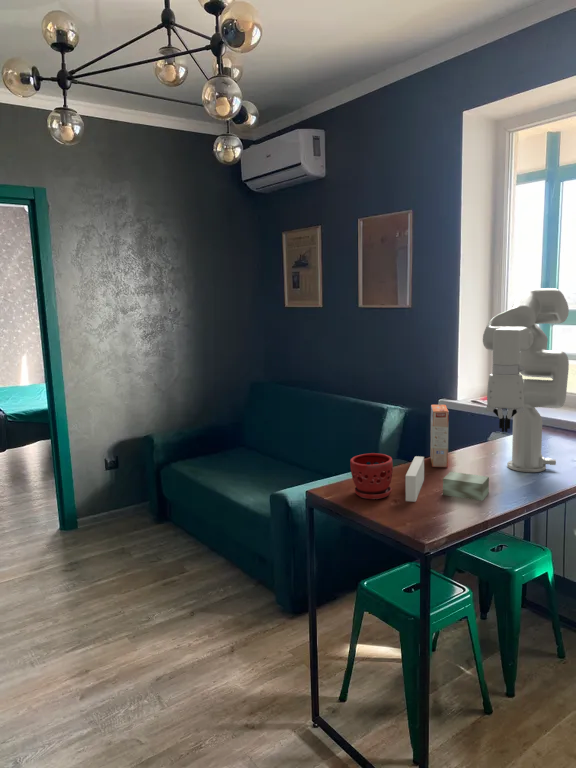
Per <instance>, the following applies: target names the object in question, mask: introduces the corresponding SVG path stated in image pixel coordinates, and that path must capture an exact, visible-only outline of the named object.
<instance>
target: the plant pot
mask: <svg viewBox="0 0 576 768" xmlns="http://www.w3.org/2000/svg"><path fill="white" fill-rule="evenodd" d="M349 462H350V464H349V465H350V474H351V478H352V481H353V484H354V486H355V488H354V493H355V494H356V495H357V496H358V497H359V498H362V499H367V500H375V499H376V500H378V499H379V500H380V499H384V498H386V497H388V496H390V494H391V493H392V489H393V488H392V487H391V486H390V485H391V484H392V480H393V470H394V467H393V466H394V464H393V458H392V456H390V455H387V454H385V453H375V452H371V453H363V454H359V455H355V456H353V457H352V458H350V461H349ZM367 463H370V464H367Z"/></svg>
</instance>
